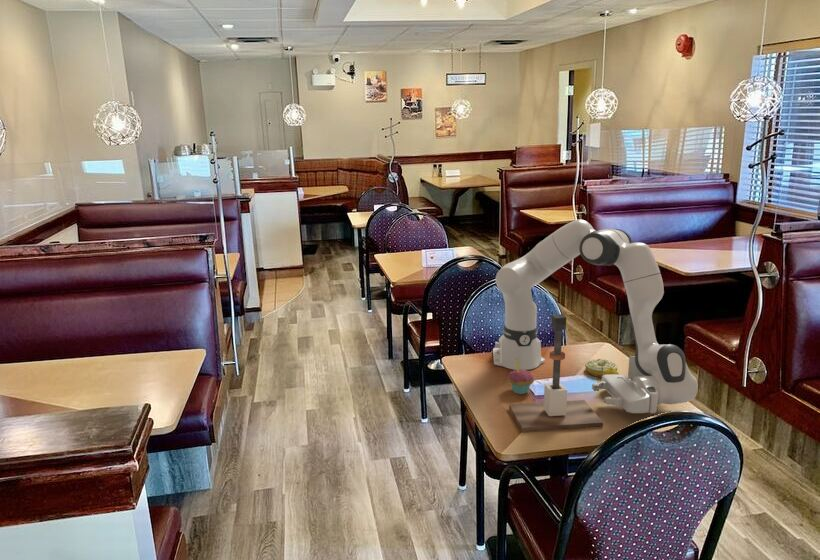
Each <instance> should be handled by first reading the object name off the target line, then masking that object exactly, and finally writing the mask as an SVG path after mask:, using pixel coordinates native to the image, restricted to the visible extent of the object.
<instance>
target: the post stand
mask: <svg viewBox="0 0 820 560" xmlns="http://www.w3.org/2000/svg"><path fill="white" fill-rule="evenodd" d="M551 328H552V329H553V330H554V338H553V339H554V340H553V341H554V342H553V346H554V347H553V350H552V351H549V359H551V360H553V363H552V364H553V366H552V383H553V384H552V383H551V384H552V389H559V383H561V379H560V377H561V361H563V360H565V359H566V353H565V352H564V351H562V339H563V330H564V331H565V330H567V316H566V315H564V314H562V313H561V314H560V313H558V314H557V313H556V314H551ZM508 410H509V413H511V415H512V417H513V419H514V420H515V422H516V424H517V426H518V428H519V429H520V431H521V433H535V432H549V431H551V432H553V431H565V430H579V429H582V430H583V429H593V428H594V429H595V428H597V429H598V428H603V427H604V422H603V421H602V419H601V418H600V417H599V415H597V413H596V412H595V411H594V410H593V408H592V407H591V406H590V405H589V404H588V402H587V401H586V400H585V399H579V400H578V399H577V400H567V407H566V415H561V416H548V414H547V413H546V411H545V410H544V401H543V402H529V403H528V402H527V403H514V404H513V403H511V404H508Z"/></svg>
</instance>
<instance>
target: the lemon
mask: <svg viewBox="0 0 820 560" xmlns="http://www.w3.org/2000/svg"><path fill="white" fill-rule="evenodd" d="M607 374H618V375H620V373H619V372H618V370H617V371H616V370H615V369H613V368H610V369H607V370H605V371H604V373H603V375H607Z"/></svg>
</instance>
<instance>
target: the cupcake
mask: <svg viewBox="0 0 820 560" xmlns="http://www.w3.org/2000/svg"><path fill="white" fill-rule="evenodd" d="M516 367H517V369H516V370H514V369H512V370H511V371H510V372H509V373H508V374H507V381H508V383H509V384H510V385H511V388H512V391H513V392H514V393H515V394H519V395H523V394H524V395H525V394H527V393H528V392H529V389H530V386H531V385H532V384H533V383H535V378H534V375H533V373H532V372H530V371H529V370H523V369H519V366H518V360H517V358H516Z"/></svg>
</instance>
